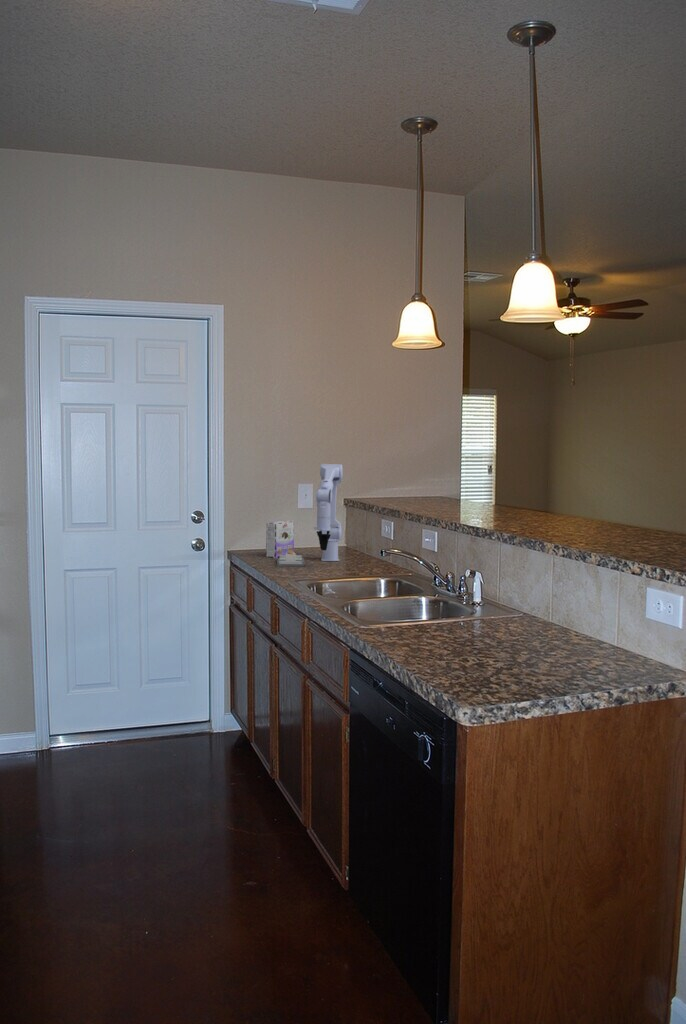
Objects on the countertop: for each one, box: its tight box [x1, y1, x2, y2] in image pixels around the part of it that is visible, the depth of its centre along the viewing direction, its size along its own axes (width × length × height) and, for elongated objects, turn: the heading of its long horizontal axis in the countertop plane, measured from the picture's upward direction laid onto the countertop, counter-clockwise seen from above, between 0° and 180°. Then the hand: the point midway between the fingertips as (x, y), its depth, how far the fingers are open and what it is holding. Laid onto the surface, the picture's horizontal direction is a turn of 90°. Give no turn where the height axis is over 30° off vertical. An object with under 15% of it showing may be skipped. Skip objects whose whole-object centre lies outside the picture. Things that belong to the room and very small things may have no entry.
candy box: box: [265, 519, 295, 559], centre depth 373 cm, size 14×6×16 cm, turn 144°
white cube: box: [286, 551, 297, 561], centre depth 348 cm, size 4×4×4 cm
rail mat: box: [276, 554, 306, 567], centre depth 353 cm, size 18×12×2 cm, turn 4°
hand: (323, 548), depth 340 cm, fingers open, 7 cm apart
